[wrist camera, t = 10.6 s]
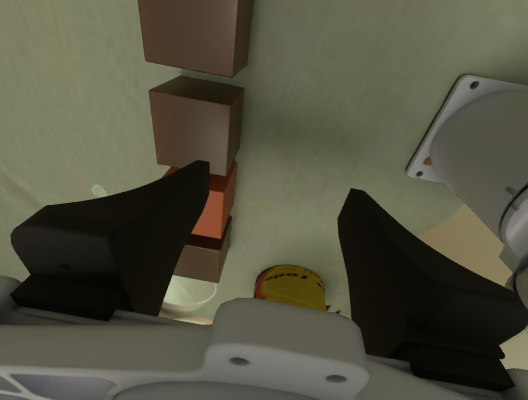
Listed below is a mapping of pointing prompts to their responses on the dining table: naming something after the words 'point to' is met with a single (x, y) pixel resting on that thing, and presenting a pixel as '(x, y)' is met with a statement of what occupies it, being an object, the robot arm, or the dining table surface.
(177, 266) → the walnut block
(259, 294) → the beverage can
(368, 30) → the dining table surface
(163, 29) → the walnut block
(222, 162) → the walnut block
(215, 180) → the terracotta block
